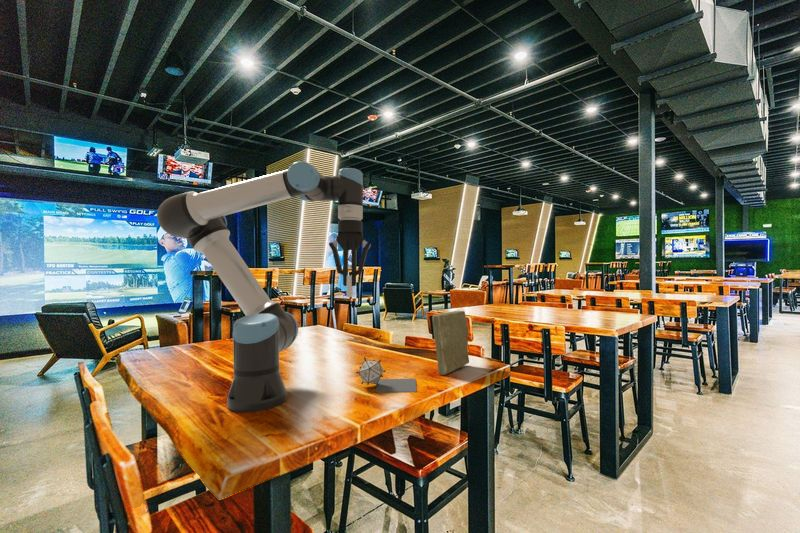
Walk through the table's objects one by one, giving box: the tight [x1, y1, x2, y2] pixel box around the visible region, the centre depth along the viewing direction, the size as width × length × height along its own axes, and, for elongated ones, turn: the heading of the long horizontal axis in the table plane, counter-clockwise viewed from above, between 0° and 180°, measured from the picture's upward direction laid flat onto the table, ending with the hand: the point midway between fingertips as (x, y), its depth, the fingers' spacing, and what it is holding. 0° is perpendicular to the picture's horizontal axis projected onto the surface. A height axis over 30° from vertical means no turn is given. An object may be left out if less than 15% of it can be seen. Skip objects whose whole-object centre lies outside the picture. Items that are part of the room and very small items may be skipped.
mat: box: [375, 378, 418, 394], centre depth 112 cm, size 12×12×1 cm
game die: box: [355, 356, 386, 387], centre depth 112 cm, size 9×8×10 cm
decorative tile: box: [431, 310, 470, 376], centre depth 130 cm, size 19×6×20 cm, turn 143°
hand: (349, 296), depth 113 cm, fingers closed
